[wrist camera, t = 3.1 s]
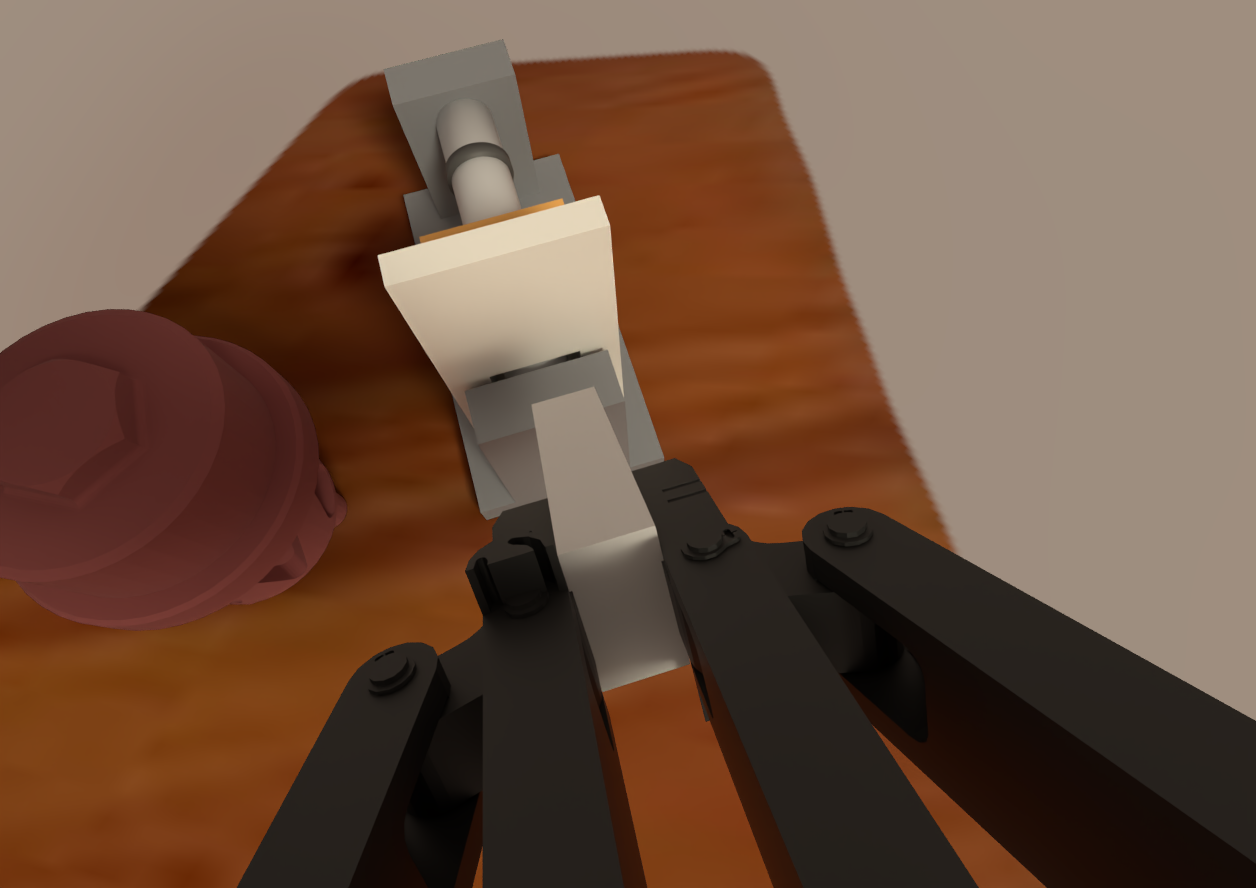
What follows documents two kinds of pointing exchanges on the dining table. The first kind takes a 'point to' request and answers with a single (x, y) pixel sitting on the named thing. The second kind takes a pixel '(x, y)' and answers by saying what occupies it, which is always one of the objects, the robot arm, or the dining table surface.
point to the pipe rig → (483, 188)
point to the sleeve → (510, 294)
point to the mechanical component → (154, 473)
